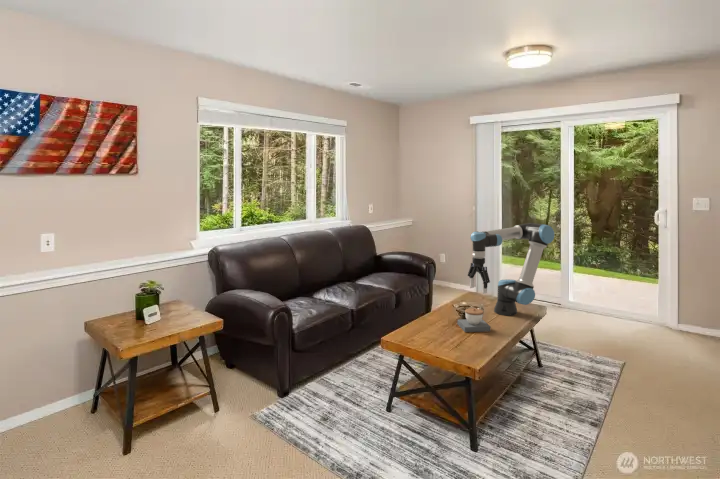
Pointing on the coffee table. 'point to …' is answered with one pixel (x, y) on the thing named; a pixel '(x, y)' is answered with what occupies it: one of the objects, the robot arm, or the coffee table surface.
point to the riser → (473, 326)
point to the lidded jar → (474, 315)
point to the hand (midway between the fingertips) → (478, 290)
